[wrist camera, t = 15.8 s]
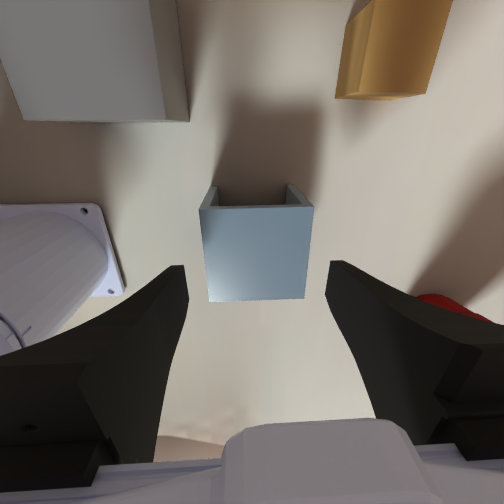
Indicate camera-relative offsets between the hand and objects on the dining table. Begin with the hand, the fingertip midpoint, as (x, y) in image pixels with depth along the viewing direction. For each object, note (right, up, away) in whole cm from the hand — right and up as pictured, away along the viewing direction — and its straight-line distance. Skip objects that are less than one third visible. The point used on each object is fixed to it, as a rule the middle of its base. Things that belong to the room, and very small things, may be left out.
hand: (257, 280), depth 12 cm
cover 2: (0, +4, +7) cm, 8 cm away
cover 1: (-7, +12, +2) cm, 14 cm away
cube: (+7, +13, +3) cm, 15 cm away
